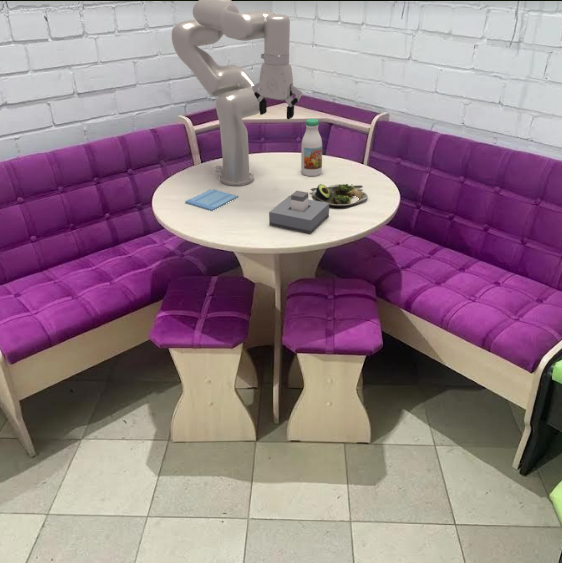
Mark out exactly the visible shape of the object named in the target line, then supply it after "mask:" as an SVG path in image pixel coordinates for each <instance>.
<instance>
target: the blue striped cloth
mask: <svg viewBox="0 0 562 563" xmlns="http://www.w3.org/2000/svg"><path fill="white" fill-rule="evenodd" d="M236 198H237V199H238V198H239V196H238V195H236V194H233V193H228V192H224V191H221V190H217V189H214V188H213V189H211V188H210V189H207V190H206V191H204V192H201V193H200V194H198V195H195V196H193V197H191V198H189V199H187V200H185V201H184V204H186V205H190V206H193V207H196V208H199V209H203V210H206V211H209V210H210V211H209V212H213V210H214V211H215V209H216V210H218V209H219V207H220V208H222V207H224V206H225V205H227V204H229V203H231V202H233V201H235V200H237V199H236ZM234 199H235V200H234ZM232 200H233V201H232ZM230 201H231V202H230ZM228 202H229V203H228ZM226 203H227V204H226ZM223 205H224V206H223ZM221 206H222V207H221ZM217 208H218V209H217Z"/></svg>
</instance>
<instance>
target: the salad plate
mask: <svg viewBox="0 0 562 563" xmlns="http://www.w3.org/2000/svg"><path fill="white" fill-rule="evenodd" d="M360 189H363V185H361V184H360V185H354V184H351V185H349V184H348V183H346V184H345V183H342V184H334V185H331V186H326V185H325V184H321V183H320V184H318V185H317V187H314V188H313V187H312V188H311V189H310V191H312V193H311V195H312V197H313V200H315V201H320V202H326V203H329V209H330V208H331V209H347V208H350V207H352V206H355V205H359V204H360V203H363V202H364V201H366V200H367V199H368V194H367V193H366V192H364V191H361V190H360ZM352 196H356V197H355V198H357V197H358V198H359V200H358V198H357V200H358V201H357V200H356V201H355V202H353V201H352V198H353V197H352ZM351 197H352V198H351Z"/></svg>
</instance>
